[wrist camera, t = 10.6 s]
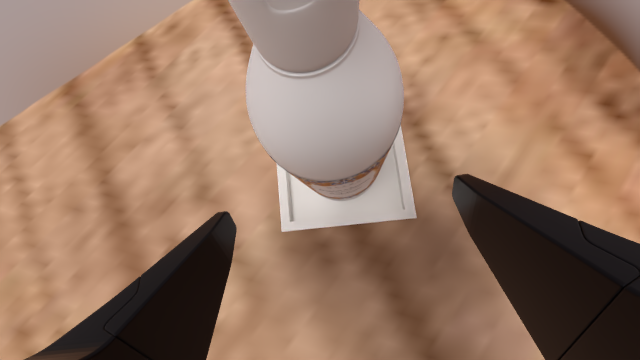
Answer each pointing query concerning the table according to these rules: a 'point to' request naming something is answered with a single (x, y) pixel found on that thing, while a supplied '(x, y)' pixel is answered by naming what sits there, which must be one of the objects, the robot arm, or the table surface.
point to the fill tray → (372, 206)
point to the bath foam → (322, 91)
